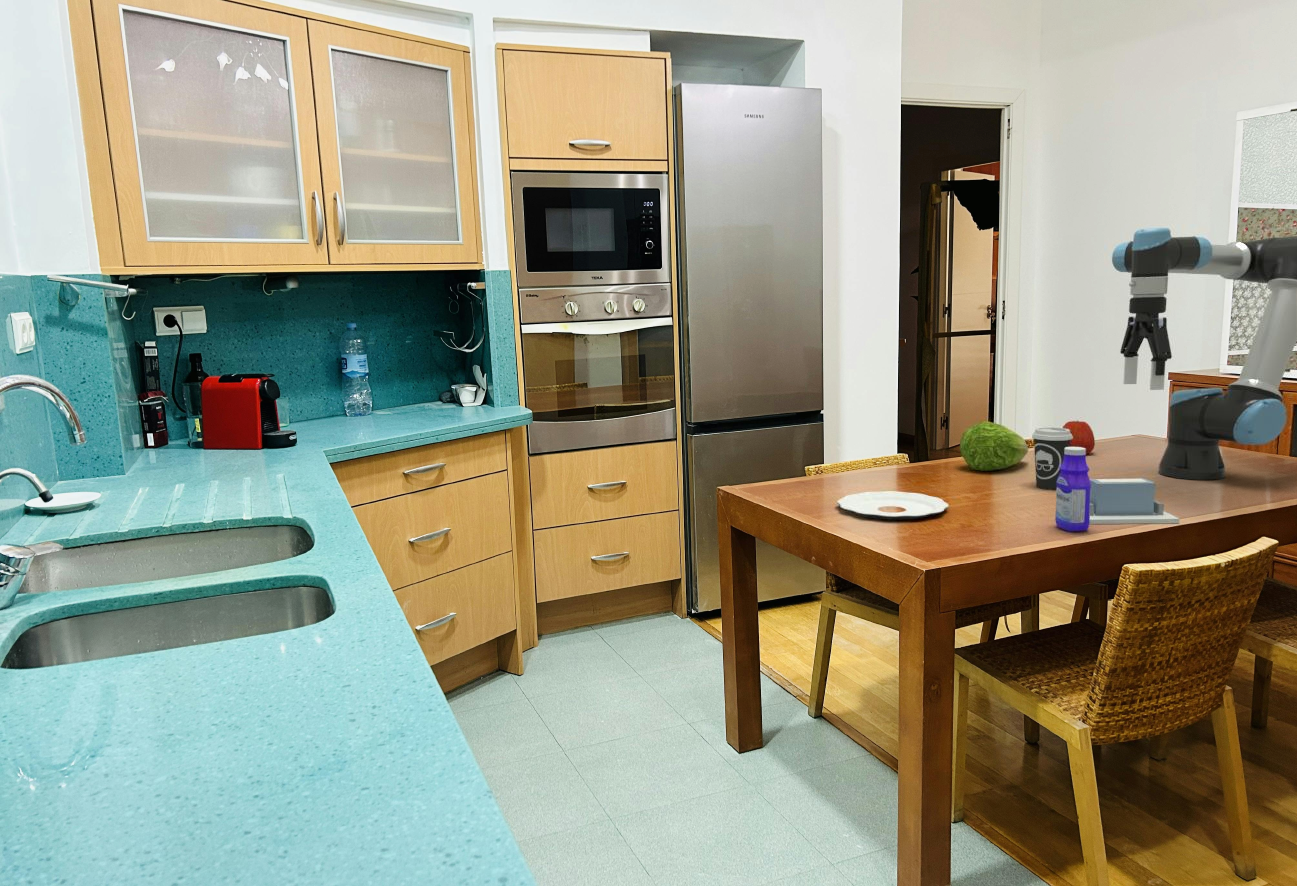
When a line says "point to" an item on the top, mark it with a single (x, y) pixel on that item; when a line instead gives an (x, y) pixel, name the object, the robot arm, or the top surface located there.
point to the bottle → (1073, 491)
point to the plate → (892, 504)
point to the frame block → (1122, 496)
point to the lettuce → (991, 447)
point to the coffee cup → (1049, 454)
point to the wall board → (1134, 517)
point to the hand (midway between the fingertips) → (1142, 386)
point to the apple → (1081, 435)
